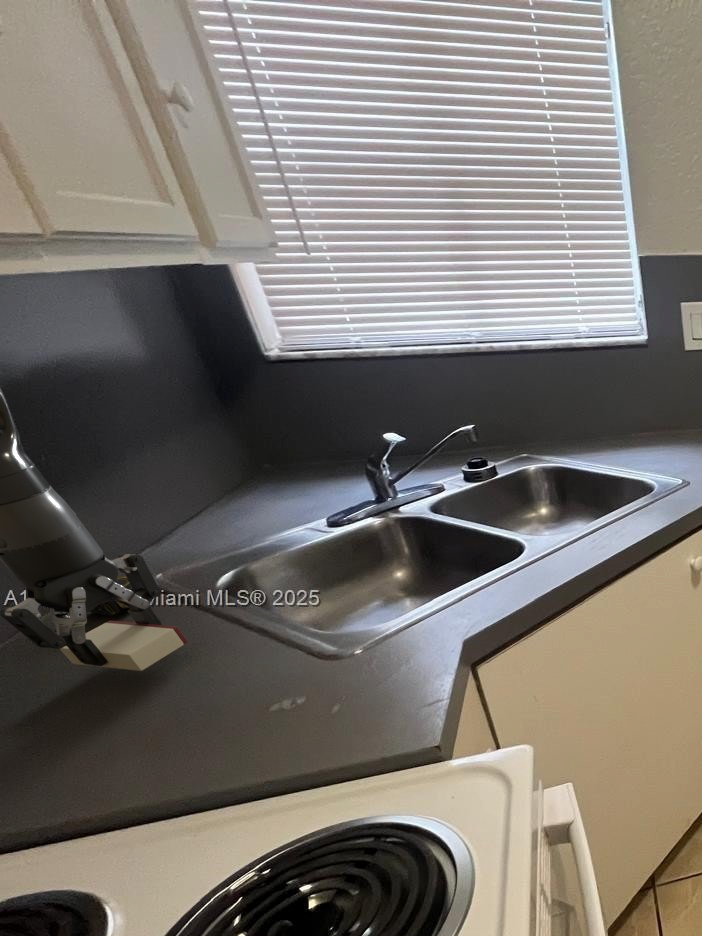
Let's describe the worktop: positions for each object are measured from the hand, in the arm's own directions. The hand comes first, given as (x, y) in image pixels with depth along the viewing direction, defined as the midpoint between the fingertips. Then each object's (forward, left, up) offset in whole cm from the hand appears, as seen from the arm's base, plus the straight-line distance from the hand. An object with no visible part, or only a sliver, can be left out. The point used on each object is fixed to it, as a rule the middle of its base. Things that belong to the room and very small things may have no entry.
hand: (127, 647), depth 81 cm
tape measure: (-19, +11, -3) cm, 22 cm away
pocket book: (0, 0, -1) cm, 1 cm away
